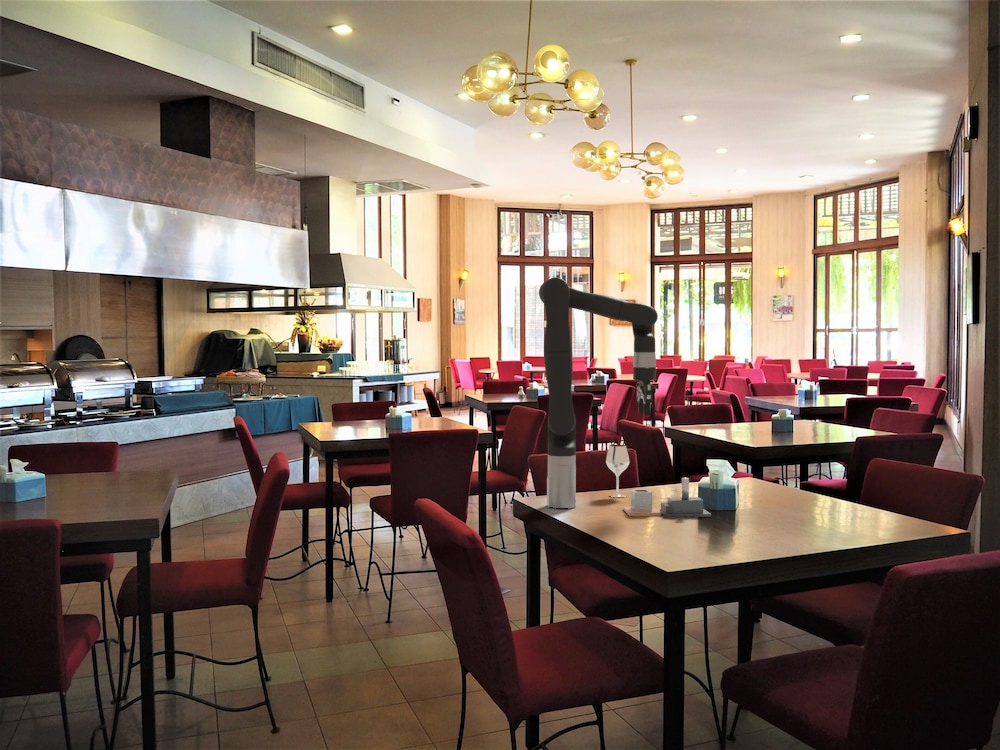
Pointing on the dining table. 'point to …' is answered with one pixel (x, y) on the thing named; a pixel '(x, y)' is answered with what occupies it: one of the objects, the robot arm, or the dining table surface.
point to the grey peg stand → (684, 505)
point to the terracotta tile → (642, 512)
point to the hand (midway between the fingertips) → (644, 414)
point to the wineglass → (617, 462)
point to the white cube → (641, 500)
